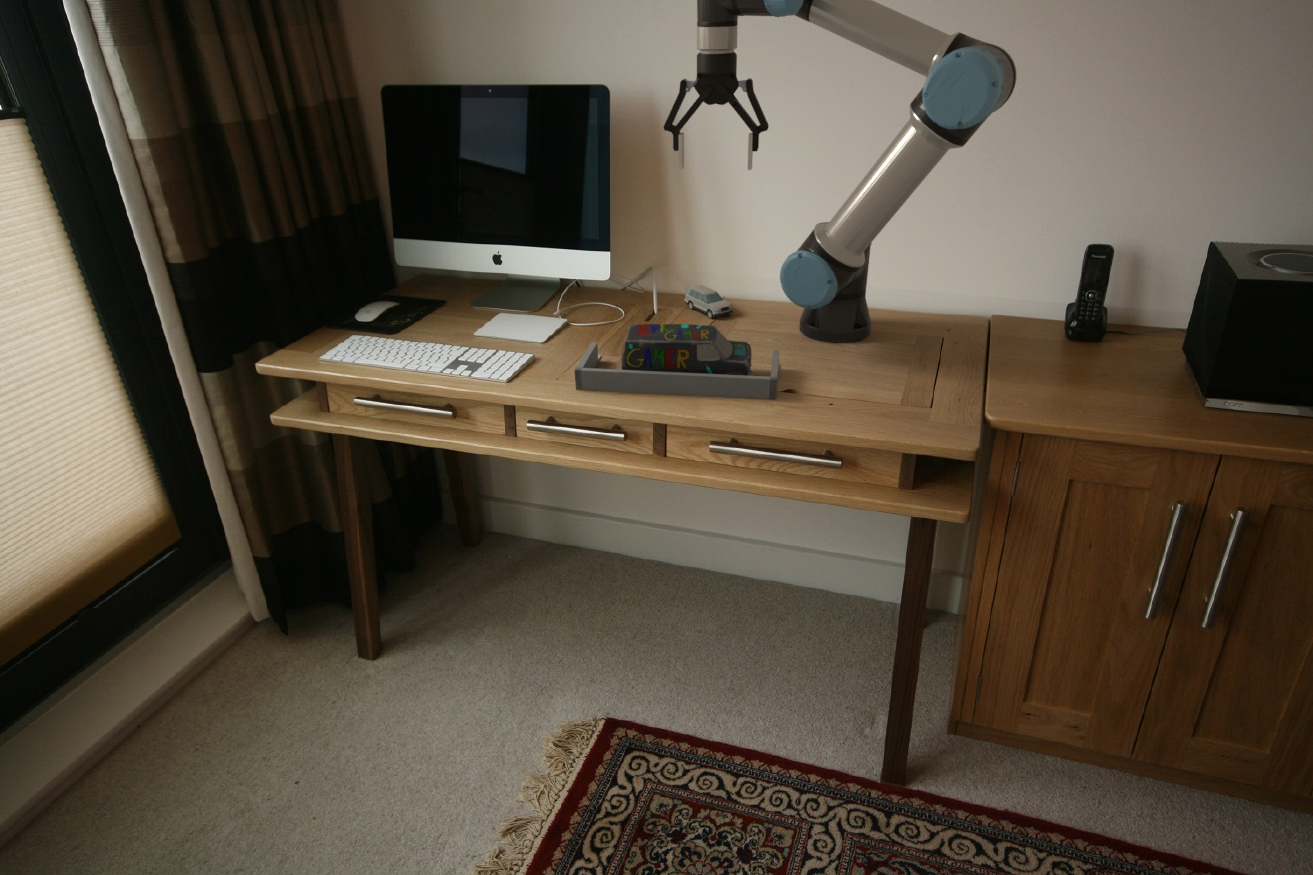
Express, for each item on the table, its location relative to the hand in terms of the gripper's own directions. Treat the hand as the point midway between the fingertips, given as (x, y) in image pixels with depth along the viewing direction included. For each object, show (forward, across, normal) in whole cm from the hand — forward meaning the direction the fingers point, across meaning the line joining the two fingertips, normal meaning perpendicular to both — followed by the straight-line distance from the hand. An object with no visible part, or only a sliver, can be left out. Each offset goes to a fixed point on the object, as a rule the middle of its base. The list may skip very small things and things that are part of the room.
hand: (715, 168), depth 172 cm
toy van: (+35, +3, +25) cm, 43 cm away
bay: (+35, +4, +25) cm, 43 cm away
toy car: (+35, +2, -14) cm, 38 cm away
